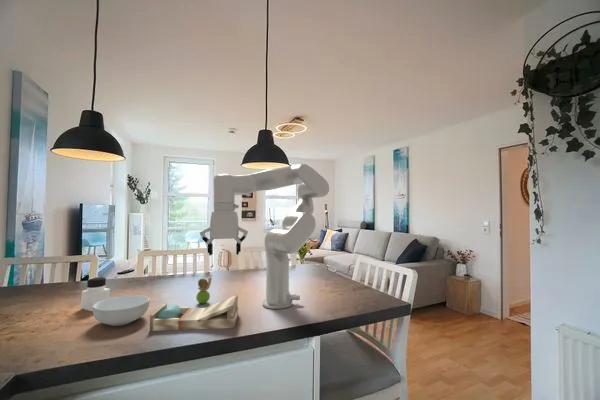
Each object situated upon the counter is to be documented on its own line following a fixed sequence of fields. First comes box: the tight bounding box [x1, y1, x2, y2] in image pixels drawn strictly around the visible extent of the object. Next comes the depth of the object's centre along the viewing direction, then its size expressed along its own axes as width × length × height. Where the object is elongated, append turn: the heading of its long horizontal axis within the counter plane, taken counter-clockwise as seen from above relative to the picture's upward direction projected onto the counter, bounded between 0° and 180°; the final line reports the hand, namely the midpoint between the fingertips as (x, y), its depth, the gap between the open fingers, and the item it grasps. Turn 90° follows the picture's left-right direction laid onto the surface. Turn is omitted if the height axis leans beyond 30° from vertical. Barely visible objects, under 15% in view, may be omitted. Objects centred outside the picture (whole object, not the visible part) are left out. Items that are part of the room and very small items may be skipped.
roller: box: [157, 303, 181, 319], centre depth 98 cm, size 5×8×5 cm
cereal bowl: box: [92, 294, 151, 327], centre depth 100 cm, size 17×17×7 cm
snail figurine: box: [196, 274, 213, 305], centre depth 120 cm, size 5×6×12 cm
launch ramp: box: [149, 294, 239, 332], centre depth 100 cm, size 27×12×8 cm, turn 96°
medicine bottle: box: [80, 276, 112, 313], centre depth 114 cm, size 7×7×12 cm
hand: (224, 254), depth 104 cm, fingers open, 9 cm apart
